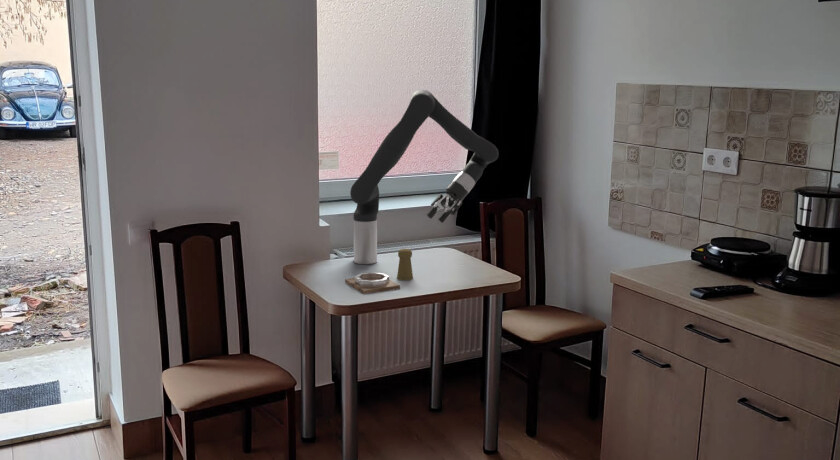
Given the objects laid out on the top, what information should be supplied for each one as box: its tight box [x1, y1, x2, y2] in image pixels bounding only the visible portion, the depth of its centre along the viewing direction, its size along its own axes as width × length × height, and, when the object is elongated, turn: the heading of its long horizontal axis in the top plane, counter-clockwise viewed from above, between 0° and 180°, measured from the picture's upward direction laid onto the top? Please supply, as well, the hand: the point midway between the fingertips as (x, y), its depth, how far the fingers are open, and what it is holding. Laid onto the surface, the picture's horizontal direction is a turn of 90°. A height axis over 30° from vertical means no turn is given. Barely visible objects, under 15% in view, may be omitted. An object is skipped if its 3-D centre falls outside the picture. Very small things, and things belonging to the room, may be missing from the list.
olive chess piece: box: [396, 248, 414, 281], centre depth 287 cm, size 6×6×11 cm
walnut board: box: [344, 277, 401, 295], centre depth 278 cm, size 16×14×1 cm
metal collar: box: [354, 271, 390, 287], centre depth 278 cm, size 11×11×2 cm
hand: (434, 219), depth 289 cm, fingers open, 8 cm apart
